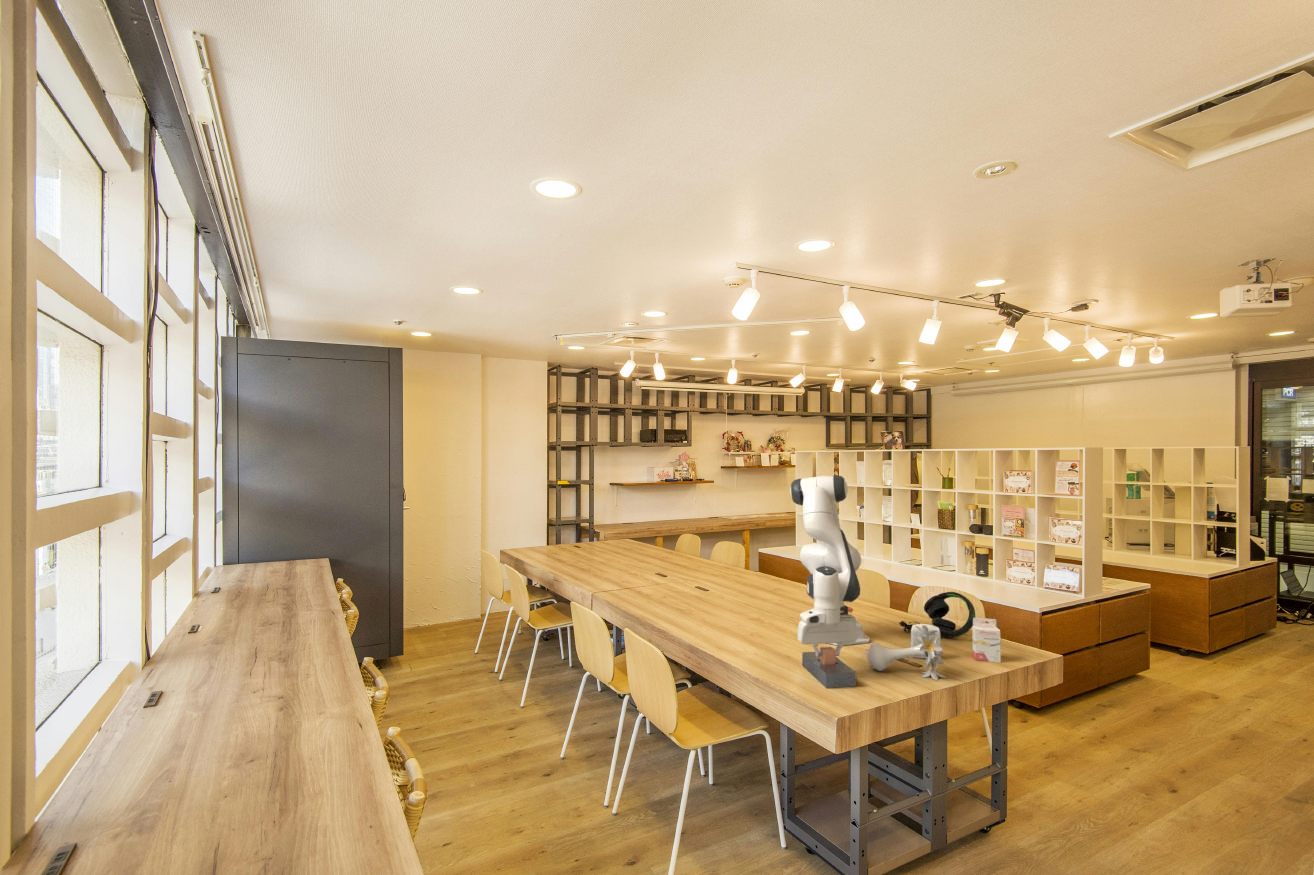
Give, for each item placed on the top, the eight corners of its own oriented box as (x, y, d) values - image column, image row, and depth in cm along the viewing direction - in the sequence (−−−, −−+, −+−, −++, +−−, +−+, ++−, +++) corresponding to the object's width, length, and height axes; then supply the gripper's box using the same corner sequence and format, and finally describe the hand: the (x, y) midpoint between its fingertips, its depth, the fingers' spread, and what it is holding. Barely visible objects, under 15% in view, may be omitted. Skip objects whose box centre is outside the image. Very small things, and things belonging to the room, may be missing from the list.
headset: (920, 652, 265) (985, 630, 249) (903, 643, 258) (969, 620, 242) (908, 613, 277) (970, 590, 261) (892, 603, 270) (954, 579, 254)
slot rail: (829, 664, 223) (828, 651, 223) (855, 686, 201) (855, 672, 202) (802, 665, 222) (802, 652, 222) (826, 688, 200) (826, 673, 200)
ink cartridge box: (975, 661, 227) (974, 620, 227) (972, 656, 232) (971, 617, 232) (1001, 662, 225) (1000, 622, 225) (997, 658, 230) (996, 618, 230)
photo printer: (940, 657, 231) (939, 624, 232) (941, 660, 227) (941, 627, 228) (910, 654, 234) (910, 621, 235) (911, 658, 230) (911, 624, 231)
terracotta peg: (831, 670, 214) (830, 646, 214) (835, 674, 210) (835, 650, 210) (820, 670, 213) (819, 647, 214) (824, 674, 210) (824, 650, 210)
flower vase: (876, 693, 213) (953, 683, 205) (861, 644, 212) (938, 631, 204) (875, 674, 225) (947, 664, 217) (860, 627, 224) (932, 615, 216)
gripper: (851, 612, 217) (852, 651, 216) (795, 613, 214) (796, 654, 214) (859, 616, 210) (860, 657, 210) (802, 618, 208) (802, 660, 208)
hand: (827, 655), depth 212 cm, fingers open, 5 cm apart
